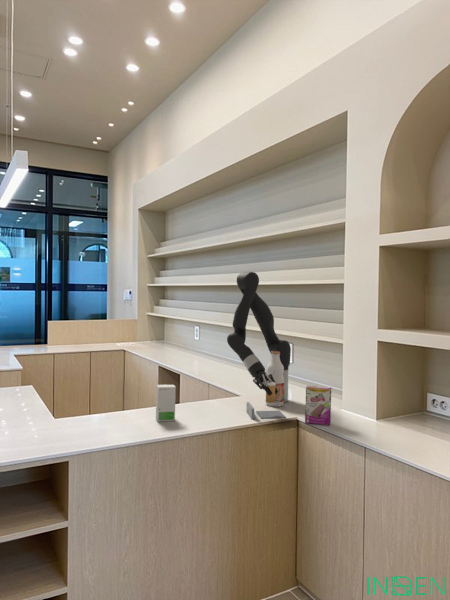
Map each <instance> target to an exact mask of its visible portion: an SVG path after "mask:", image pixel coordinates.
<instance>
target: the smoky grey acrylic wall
mask: <svg viewBox="0 0 450 600" xmlns="http://www.w3.org/2000/svg"><path fill="white" fill-rule="evenodd" d="M245 408H246V414H247V415H248V417H250V419H251V420H252V421H253V420H255V407H254V406H253V404H251V403H250V401H246V406H245Z"/></svg>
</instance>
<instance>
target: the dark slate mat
mask: <svg viewBox="0 0 450 600" xmlns="http://www.w3.org/2000/svg"><path fill="white" fill-rule="evenodd" d="M255 413H256V414H257V415H258V417H259V418H260V419H262V420H263V419H286V418H287V417H286V415H285V414H284V413H282V412H281V411H280V410H255Z"/></svg>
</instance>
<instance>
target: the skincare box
mask: <svg viewBox="0 0 450 600" xmlns="http://www.w3.org/2000/svg"><path fill="white" fill-rule="evenodd" d="M176 389H177V387H176V385H175V384H156V402H155V405H156V406H155V419H156V421H157V422H175V419H176Z"/></svg>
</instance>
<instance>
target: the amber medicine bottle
mask: <svg viewBox="0 0 450 600" xmlns="http://www.w3.org/2000/svg"><path fill="white" fill-rule="evenodd" d="M266 384H267V386H268V387H269V389H270V390H271V391H272V395H270V396H269V395H268V394H267V393H266V392H265V403H266V402H268V403H274V402H275V385H276V383H274V382H266Z"/></svg>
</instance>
